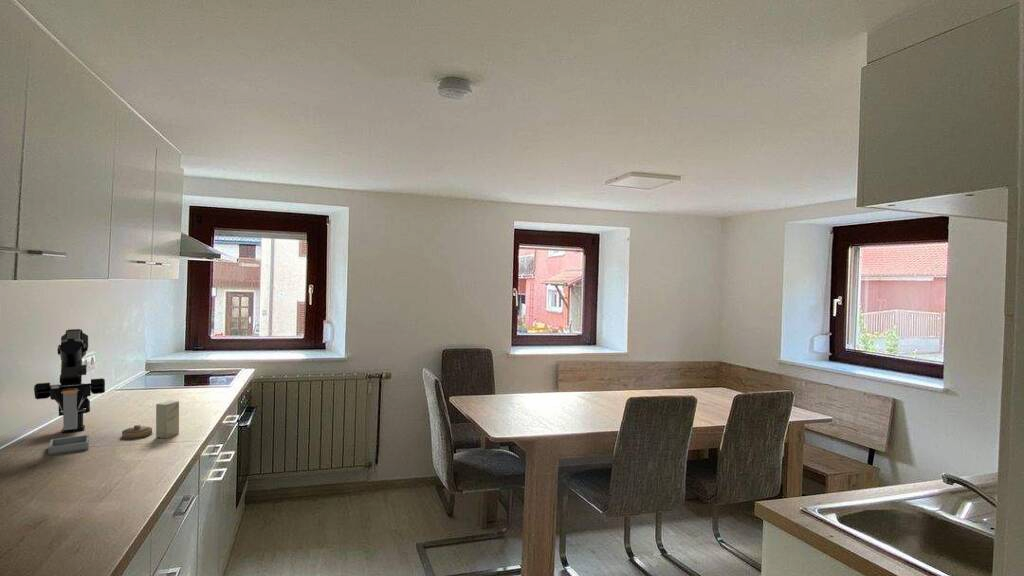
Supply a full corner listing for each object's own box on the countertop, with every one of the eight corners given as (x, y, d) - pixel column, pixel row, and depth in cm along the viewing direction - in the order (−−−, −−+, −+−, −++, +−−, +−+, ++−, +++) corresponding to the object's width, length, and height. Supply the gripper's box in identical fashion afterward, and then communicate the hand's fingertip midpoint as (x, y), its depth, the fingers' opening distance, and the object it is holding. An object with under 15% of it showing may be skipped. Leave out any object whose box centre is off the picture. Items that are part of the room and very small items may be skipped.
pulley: (121, 434, 202) (121, 424, 202) (151, 430, 208) (151, 421, 208) (122, 440, 195) (122, 430, 195) (152, 436, 200) (152, 426, 200)
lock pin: (63, 427, 186) (63, 388, 186) (77, 425, 188) (77, 387, 188) (62, 430, 183) (62, 391, 183) (77, 428, 185) (77, 389, 185)
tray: (51, 446, 187) (51, 439, 187) (89, 441, 193) (89, 434, 193) (48, 455, 179) (48, 447, 179) (88, 449, 185) (88, 442, 185)
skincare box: (165, 438, 198) (165, 404, 198) (155, 437, 199) (155, 404, 199) (179, 433, 204) (179, 400, 204) (169, 432, 205) (169, 400, 205)
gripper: (34, 359, 182) (31, 399, 174) (104, 355, 194) (104, 392, 185) (36, 379, 189) (33, 418, 181) (104, 373, 200) (104, 410, 192)
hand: (70, 409), depth 184 cm, fingers closed on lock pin, 3 cm apart
